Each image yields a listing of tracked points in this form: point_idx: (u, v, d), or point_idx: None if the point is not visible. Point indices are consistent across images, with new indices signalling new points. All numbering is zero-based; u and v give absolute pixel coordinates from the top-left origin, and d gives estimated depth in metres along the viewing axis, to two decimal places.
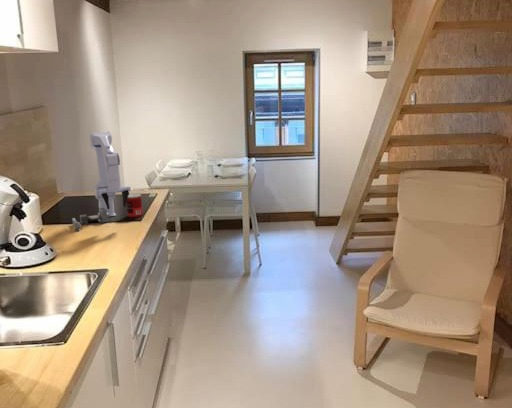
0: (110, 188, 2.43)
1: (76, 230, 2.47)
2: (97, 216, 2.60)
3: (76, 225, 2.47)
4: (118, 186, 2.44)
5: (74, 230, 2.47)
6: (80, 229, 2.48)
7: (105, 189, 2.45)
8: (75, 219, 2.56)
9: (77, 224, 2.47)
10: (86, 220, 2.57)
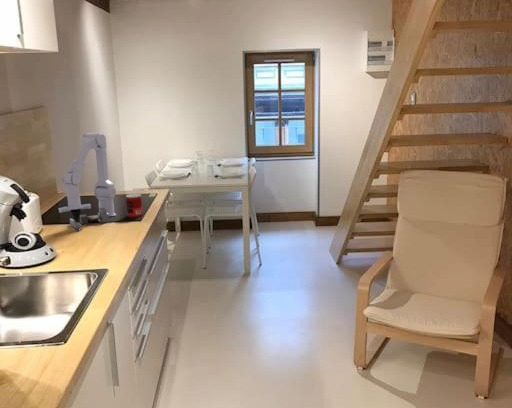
0: (70, 206, 2.48)
1: (76, 230, 2.47)
2: (97, 216, 2.60)
3: (76, 225, 2.47)
4: (78, 204, 2.49)
5: (74, 230, 2.47)
6: (80, 229, 2.48)
7: (65, 207, 2.51)
8: None
9: (77, 224, 2.47)
10: (86, 220, 2.57)
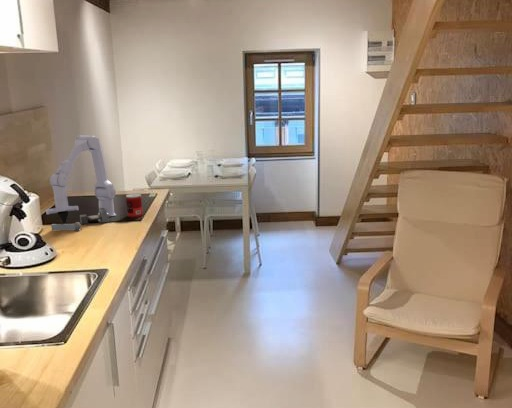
0: (57, 208, 2.46)
1: (76, 230, 2.47)
2: (97, 216, 2.60)
3: (78, 225, 2.47)
4: (65, 205, 2.47)
5: (74, 230, 2.47)
6: (80, 229, 2.48)
7: (53, 208, 2.48)
8: None
9: (79, 223, 2.48)
10: (86, 220, 2.57)
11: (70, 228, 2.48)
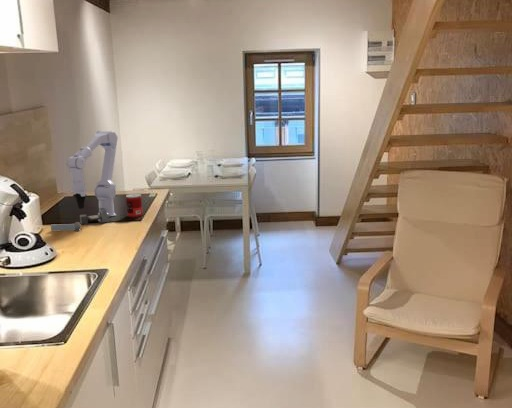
0: None
1: (76, 230, 2.47)
2: (97, 216, 2.60)
3: (78, 225, 2.47)
4: (74, 188, 2.51)
5: (74, 230, 2.47)
6: (80, 229, 2.48)
7: None
8: (58, 224, 2.48)
9: (79, 223, 2.48)
10: (86, 220, 2.57)
11: (70, 228, 2.48)
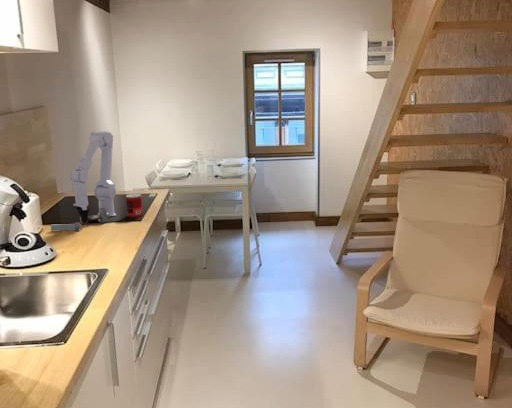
0: None
1: (76, 230, 2.47)
2: (97, 216, 2.60)
3: (78, 225, 2.47)
4: (76, 201, 2.54)
5: (74, 230, 2.47)
6: (80, 229, 2.48)
7: None
8: (58, 224, 2.48)
9: (79, 223, 2.48)
10: None
11: (70, 228, 2.48)
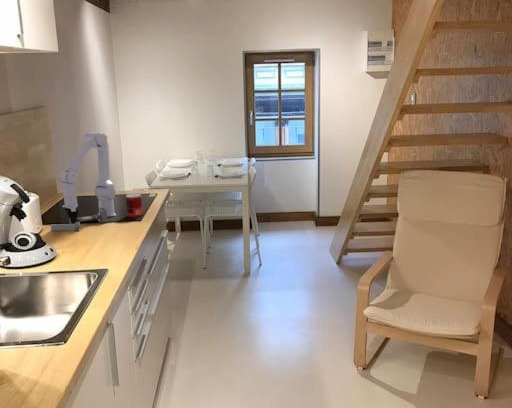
0: None
1: (76, 230, 2.47)
2: (87, 217, 2.58)
3: (78, 225, 2.47)
4: (65, 203, 2.52)
5: (74, 230, 2.47)
6: (80, 229, 2.48)
7: None
8: (58, 224, 2.48)
9: (79, 223, 2.48)
10: None
11: (70, 228, 2.48)
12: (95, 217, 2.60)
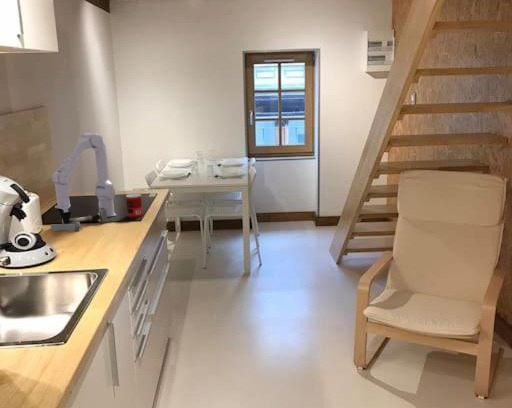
0: None
1: (76, 230, 2.47)
2: (80, 218, 2.57)
3: (78, 225, 2.47)
4: (58, 203, 2.50)
5: (74, 230, 2.47)
6: (80, 229, 2.48)
7: None
8: (58, 224, 2.48)
9: (79, 223, 2.48)
10: None
11: (70, 228, 2.48)
12: (88, 218, 2.58)
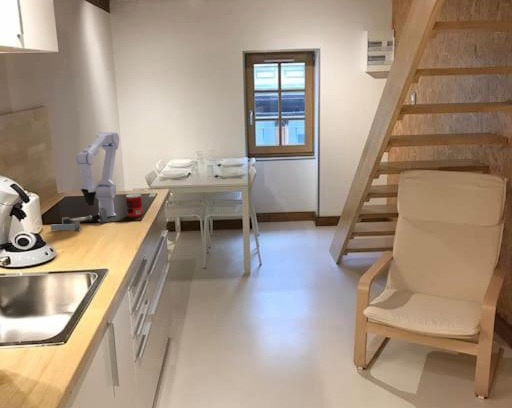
0: None
1: (76, 230, 2.47)
2: (80, 218, 2.57)
3: (78, 225, 2.47)
4: (82, 184, 2.53)
5: (74, 230, 2.47)
6: (80, 229, 2.48)
7: None
8: (58, 224, 2.48)
9: (79, 223, 2.48)
10: (68, 223, 2.54)
11: (70, 228, 2.48)
12: (88, 218, 2.58)
